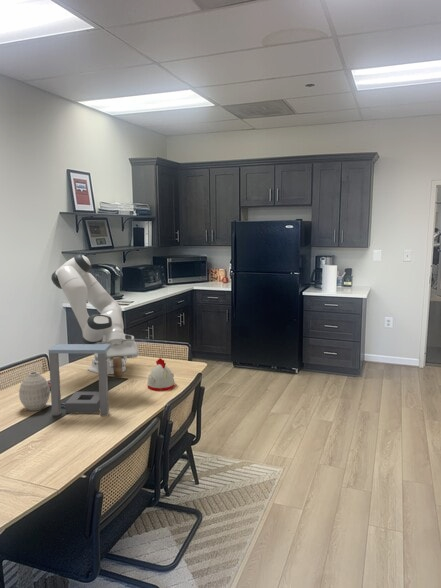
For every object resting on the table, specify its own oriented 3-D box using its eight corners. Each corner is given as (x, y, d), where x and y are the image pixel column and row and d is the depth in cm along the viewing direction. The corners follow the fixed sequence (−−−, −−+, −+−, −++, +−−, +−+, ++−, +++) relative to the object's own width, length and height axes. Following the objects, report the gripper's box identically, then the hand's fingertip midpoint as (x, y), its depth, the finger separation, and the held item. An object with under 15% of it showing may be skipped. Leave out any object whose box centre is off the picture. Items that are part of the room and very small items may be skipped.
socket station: (65, 400, 206) (62, 340, 201) (115, 400, 206) (113, 340, 201) (52, 415, 189) (48, 349, 185) (107, 415, 189) (104, 350, 185)
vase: (21, 404, 200) (18, 370, 198) (50, 401, 205) (49, 367, 202) (19, 415, 189) (16, 379, 186) (50, 411, 193) (48, 375, 191)
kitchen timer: (156, 393, 216) (155, 364, 213) (142, 385, 226) (142, 357, 224) (179, 387, 224) (179, 359, 222) (165, 379, 235) (164, 353, 233)
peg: (111, 377, 200) (111, 358, 199) (117, 374, 204) (116, 356, 203) (118, 378, 199) (117, 359, 197) (124, 375, 202) (123, 357, 201)
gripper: (92, 339, 203) (94, 365, 195) (137, 335, 208) (140, 361, 200) (93, 346, 207) (94, 371, 199) (136, 342, 213) (139, 367, 205)
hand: (117, 366), depth 200 cm, fingers closed on peg, 4 cm apart
